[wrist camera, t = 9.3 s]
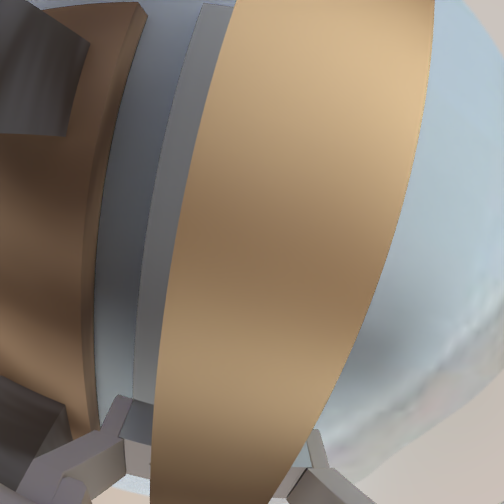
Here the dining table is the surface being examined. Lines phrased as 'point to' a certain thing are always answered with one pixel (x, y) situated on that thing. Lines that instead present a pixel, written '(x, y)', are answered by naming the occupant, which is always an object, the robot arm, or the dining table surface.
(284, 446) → the rail
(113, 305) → the dining table surface
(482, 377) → the dining table surface
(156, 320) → the mat
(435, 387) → the dining table surface
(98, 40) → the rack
